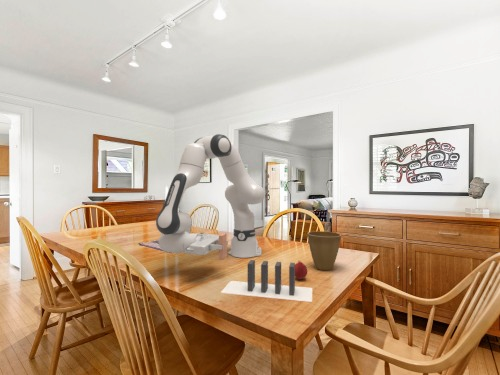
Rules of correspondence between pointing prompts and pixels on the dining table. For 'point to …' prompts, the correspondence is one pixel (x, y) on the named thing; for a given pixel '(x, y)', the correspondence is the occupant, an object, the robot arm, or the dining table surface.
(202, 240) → the robot arm
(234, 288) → the mat
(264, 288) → the domino
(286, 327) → the dining table surface
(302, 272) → the onion
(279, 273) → the domino
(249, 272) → the domino
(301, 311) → the dining table surface
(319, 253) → the plant pot
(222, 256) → the terracotta domino
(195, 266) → the dining table surface
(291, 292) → the domino
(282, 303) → the dining table surface
